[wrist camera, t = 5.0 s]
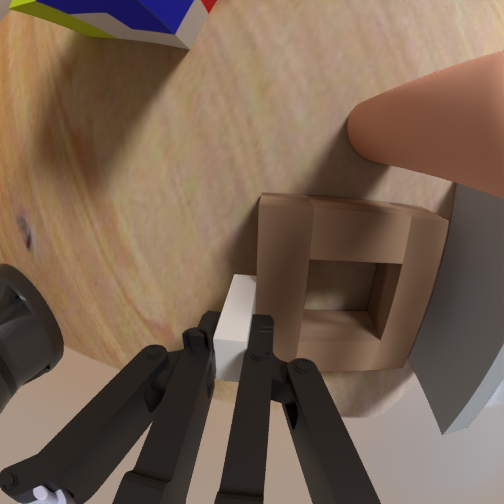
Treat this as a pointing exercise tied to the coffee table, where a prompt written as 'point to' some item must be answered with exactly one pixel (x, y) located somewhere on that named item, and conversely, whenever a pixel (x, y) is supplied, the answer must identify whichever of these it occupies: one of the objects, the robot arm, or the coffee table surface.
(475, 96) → the dowel
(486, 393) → the board
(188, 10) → the puzzle toy
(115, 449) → the robot arm
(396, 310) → the block
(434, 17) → the coffee table surface
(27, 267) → the coffee table surface
